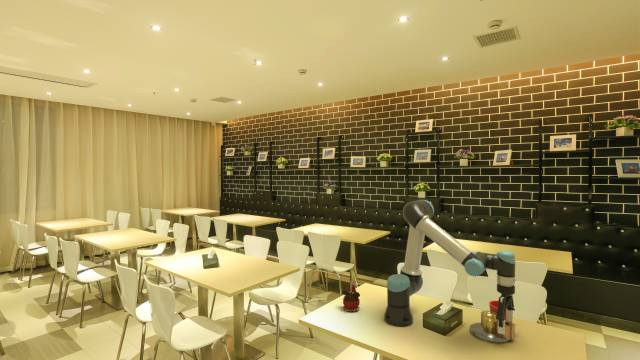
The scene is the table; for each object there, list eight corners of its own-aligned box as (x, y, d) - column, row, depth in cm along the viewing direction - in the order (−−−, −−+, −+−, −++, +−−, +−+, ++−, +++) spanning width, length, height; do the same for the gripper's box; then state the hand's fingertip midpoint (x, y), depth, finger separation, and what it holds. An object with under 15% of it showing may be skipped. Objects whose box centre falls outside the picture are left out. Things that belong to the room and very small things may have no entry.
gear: (497, 337, 155) (497, 325, 155) (496, 331, 162) (496, 318, 162) (515, 340, 152) (515, 327, 152) (513, 333, 159) (513, 321, 159)
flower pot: (515, 328, 168) (515, 309, 168) (492, 326, 170) (492, 307, 170) (508, 319, 178) (508, 301, 178) (486, 317, 180) (486, 299, 180)
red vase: (339, 310, 192) (339, 279, 191) (346, 304, 200) (346, 275, 199) (356, 314, 186) (355, 282, 186) (363, 308, 194) (362, 278, 194)
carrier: (470, 338, 157) (470, 322, 157) (469, 321, 175) (469, 307, 175) (513, 346, 150) (513, 329, 150) (508, 327, 168) (508, 312, 168)
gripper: (507, 293, 145) (506, 340, 145) (521, 279, 163) (521, 322, 163) (488, 289, 150) (488, 335, 151) (504, 276, 168) (504, 317, 169)
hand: (505, 328), depth 157 cm, fingers open, 13 cm apart
